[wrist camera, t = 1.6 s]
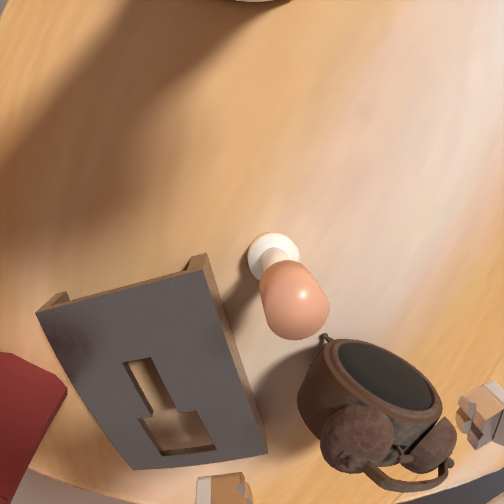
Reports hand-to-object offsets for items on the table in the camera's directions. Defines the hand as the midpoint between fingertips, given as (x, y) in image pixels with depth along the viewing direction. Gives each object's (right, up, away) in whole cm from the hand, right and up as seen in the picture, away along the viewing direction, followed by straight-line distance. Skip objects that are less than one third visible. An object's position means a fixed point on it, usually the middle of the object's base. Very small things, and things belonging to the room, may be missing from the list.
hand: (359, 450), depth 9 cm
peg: (-2, +6, +23) cm, 24 cm away
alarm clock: (+8, -5, +27) cm, 28 cm away
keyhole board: (-14, -7, +25) cm, 30 cm away
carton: (-33, -10, +25) cm, 43 cm away
